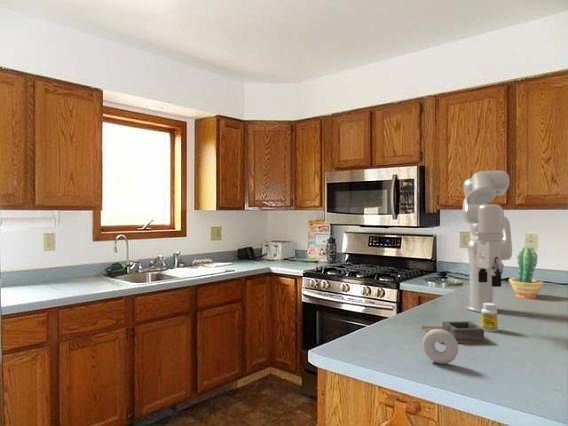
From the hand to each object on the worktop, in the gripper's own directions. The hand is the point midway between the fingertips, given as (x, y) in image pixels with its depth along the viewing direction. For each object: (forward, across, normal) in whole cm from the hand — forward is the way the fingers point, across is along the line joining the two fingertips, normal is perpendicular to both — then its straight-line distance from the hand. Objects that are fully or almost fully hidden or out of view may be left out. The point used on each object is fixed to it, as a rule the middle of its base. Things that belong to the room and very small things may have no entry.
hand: (489, 284), depth 154 cm
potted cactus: (+16, -56, +47) cm, 75 cm away
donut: (+18, +31, -31) cm, 47 cm away
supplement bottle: (+17, -1, 0) cm, 17 cm away
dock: (+17, +5, -16) cm, 24 cm away
